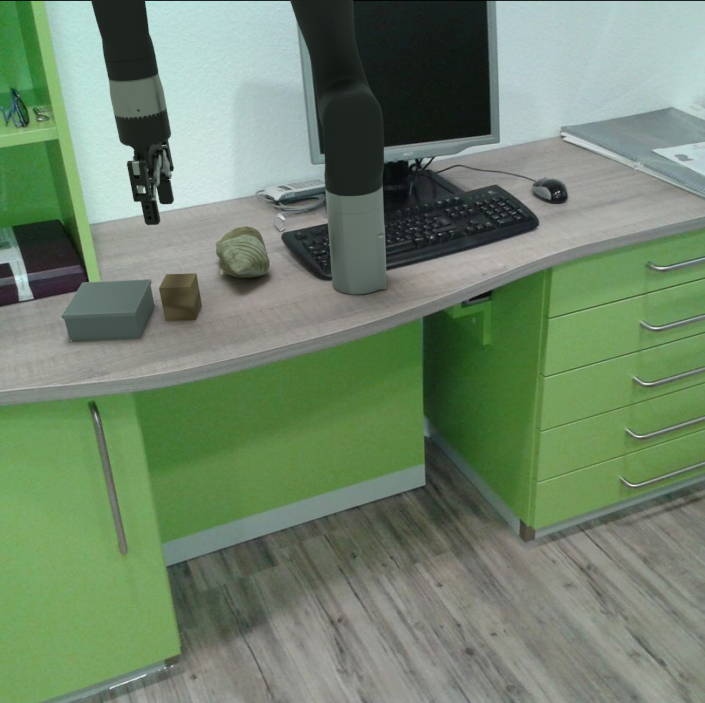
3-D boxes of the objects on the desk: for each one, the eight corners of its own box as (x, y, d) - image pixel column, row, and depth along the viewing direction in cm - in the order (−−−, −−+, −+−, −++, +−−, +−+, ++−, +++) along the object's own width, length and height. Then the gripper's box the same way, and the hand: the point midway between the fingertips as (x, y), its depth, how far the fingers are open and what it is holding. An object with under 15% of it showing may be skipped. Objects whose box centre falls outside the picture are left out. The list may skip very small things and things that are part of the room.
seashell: (198, 235, 150) (229, 201, 144) (241, 251, 155) (272, 219, 150) (206, 297, 142) (239, 263, 136) (251, 311, 148) (284, 280, 142)
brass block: (202, 305, 138) (196, 273, 135) (196, 320, 133) (190, 287, 130) (172, 306, 138) (166, 274, 135) (165, 321, 134) (158, 288, 131)
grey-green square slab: (156, 306, 139) (151, 279, 136) (141, 340, 129) (134, 312, 127) (89, 309, 139) (82, 282, 137) (68, 343, 130) (61, 315, 127)
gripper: (152, 120, 113) (173, 230, 122) (176, 94, 125) (194, 196, 134) (99, 123, 114) (123, 232, 122) (128, 96, 126) (148, 197, 134)
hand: (160, 213), depth 128 cm, fingers open, 8 cm apart
